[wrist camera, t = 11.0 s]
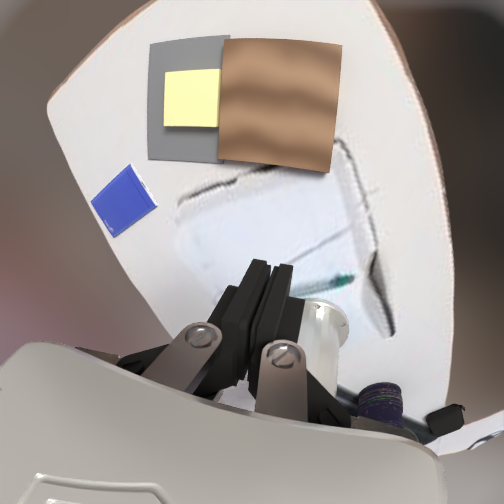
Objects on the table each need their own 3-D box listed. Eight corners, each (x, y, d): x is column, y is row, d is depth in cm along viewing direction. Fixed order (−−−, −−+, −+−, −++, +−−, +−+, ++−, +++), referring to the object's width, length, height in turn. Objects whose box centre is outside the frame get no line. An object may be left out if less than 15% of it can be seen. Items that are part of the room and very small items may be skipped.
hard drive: (113, 238, 48) (155, 207, 42) (89, 201, 45) (128, 164, 40) (118, 234, 49) (160, 203, 44) (95, 198, 47) (134, 162, 41)
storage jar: (380, 376, 49) (381, 441, 36) (410, 390, 49) (415, 449, 36) (348, 398, 54) (343, 458, 41) (379, 410, 54) (378, 466, 42)
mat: (223, 163, 38) (222, 163, 37) (149, 158, 40) (147, 159, 40) (230, 35, 29) (229, 35, 28) (151, 44, 31) (150, 44, 31)
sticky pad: (221, 125, 35) (216, 126, 33) (171, 124, 36) (163, 126, 35) (224, 70, 31) (219, 68, 29) (172, 73, 33) (165, 72, 31)
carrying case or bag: (467, 418, 51) (462, 397, 48) (468, 427, 48) (464, 406, 45) (433, 431, 56) (424, 412, 53) (434, 440, 53) (425, 422, 50)
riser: (329, 169, 34) (329, 172, 33) (223, 156, 37) (218, 158, 35) (341, 48, 27) (342, 45, 25) (229, 42, 29) (224, 39, 28)
